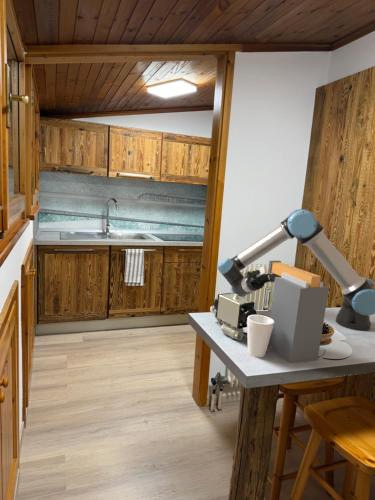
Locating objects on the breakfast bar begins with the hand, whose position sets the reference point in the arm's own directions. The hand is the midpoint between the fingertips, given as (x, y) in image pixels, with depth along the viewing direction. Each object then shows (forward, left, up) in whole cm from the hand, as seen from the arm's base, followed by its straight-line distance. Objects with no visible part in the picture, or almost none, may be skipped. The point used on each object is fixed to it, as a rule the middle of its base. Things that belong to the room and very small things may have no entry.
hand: (280, 269), depth 137 cm
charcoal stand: (0, +13, -29) cm, 31 cm away
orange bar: (0, +8, -2) cm, 8 cm away
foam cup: (+14, +11, -29) cm, 34 cm away
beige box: (+15, -19, -29) cm, 38 cm away
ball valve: (+16, -4, -29) cm, 33 cm away
